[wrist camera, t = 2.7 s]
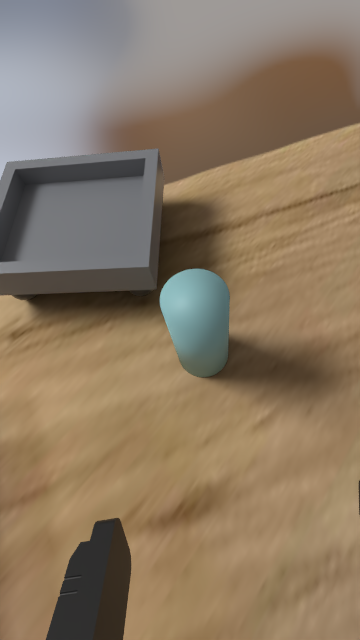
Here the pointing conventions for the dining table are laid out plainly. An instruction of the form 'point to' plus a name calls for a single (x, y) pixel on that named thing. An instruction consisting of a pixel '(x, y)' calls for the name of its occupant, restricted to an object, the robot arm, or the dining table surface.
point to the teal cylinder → (198, 320)
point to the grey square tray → (81, 224)
